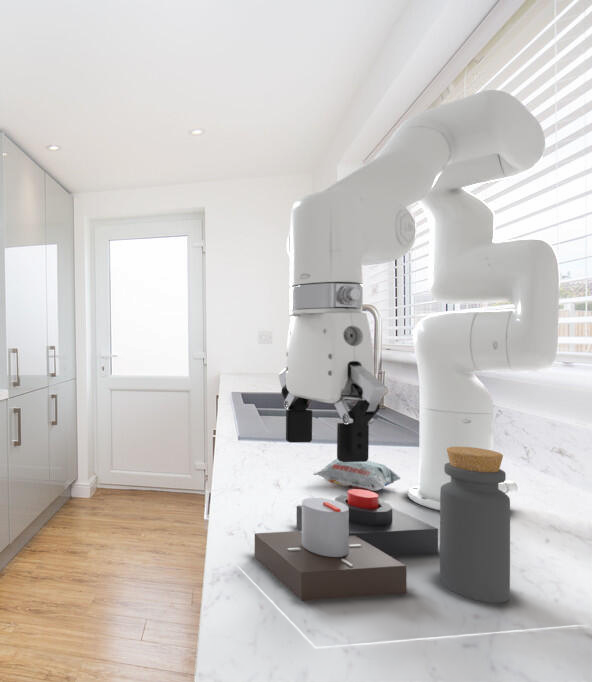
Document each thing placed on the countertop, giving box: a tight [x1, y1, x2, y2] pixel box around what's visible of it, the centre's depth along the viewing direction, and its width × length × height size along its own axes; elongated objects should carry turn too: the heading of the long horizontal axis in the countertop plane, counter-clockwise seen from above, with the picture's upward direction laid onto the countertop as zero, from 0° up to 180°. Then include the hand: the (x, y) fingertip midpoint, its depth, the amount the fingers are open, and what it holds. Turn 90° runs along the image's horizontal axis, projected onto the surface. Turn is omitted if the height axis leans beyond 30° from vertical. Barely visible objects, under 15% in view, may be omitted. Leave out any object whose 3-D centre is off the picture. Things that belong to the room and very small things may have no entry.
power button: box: [347, 488, 380, 509], centre depth 64 cm, size 4×4×2 cm
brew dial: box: [301, 497, 349, 557], centre depth 55 cm, size 5×5×5 cm
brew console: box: [254, 530, 408, 602], centre depth 55 cm, size 12×10×3 cm
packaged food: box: [312, 458, 401, 492], centre depth 87 cm, size 9×12×5 cm
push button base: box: [296, 494, 439, 557], centre depth 64 cm, size 13×10×5 cm
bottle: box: [439, 447, 511, 604], centre depth 51 cm, size 6×6×15 cm
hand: (323, 450), depth 55 cm, fingers open, 9 cm apart
